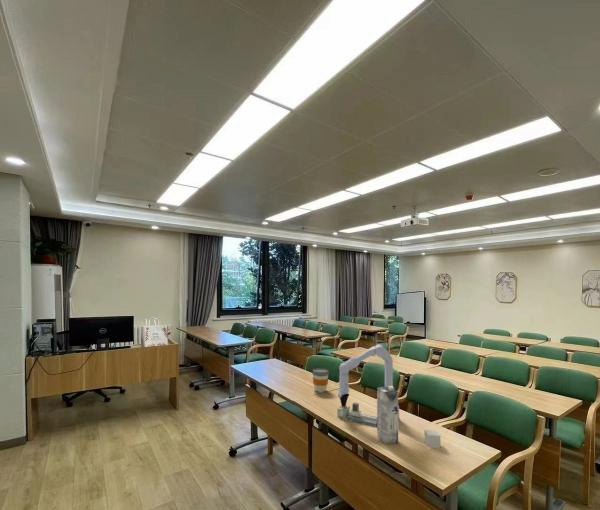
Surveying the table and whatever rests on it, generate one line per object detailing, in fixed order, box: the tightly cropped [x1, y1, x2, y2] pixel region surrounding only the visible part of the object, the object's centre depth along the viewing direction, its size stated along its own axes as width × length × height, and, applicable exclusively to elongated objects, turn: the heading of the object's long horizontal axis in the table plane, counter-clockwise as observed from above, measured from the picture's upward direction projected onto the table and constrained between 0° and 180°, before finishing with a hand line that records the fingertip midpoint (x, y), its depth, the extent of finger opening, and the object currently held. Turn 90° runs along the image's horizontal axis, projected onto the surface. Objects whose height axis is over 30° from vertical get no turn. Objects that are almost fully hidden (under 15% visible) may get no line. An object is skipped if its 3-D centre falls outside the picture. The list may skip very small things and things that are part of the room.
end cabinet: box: [336, 404, 351, 419], centre depth 198 cm, size 5×8×5 cm, turn 151°
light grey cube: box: [423, 429, 442, 449], centre depth 163 cm, size 6×6×6 cm
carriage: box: [350, 402, 362, 417], centre depth 195 cm, size 5×4×7 cm
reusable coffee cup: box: [312, 368, 330, 393], centre depth 247 cm, size 13×13×15 cm
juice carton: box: [376, 385, 399, 445], centre depth 168 cm, size 9×10×27 cm
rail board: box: [344, 411, 377, 427], centre depth 192 cm, size 18×10×3 cm, turn 61°
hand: (343, 406), depth 198 cm, fingers closed, pressing on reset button
